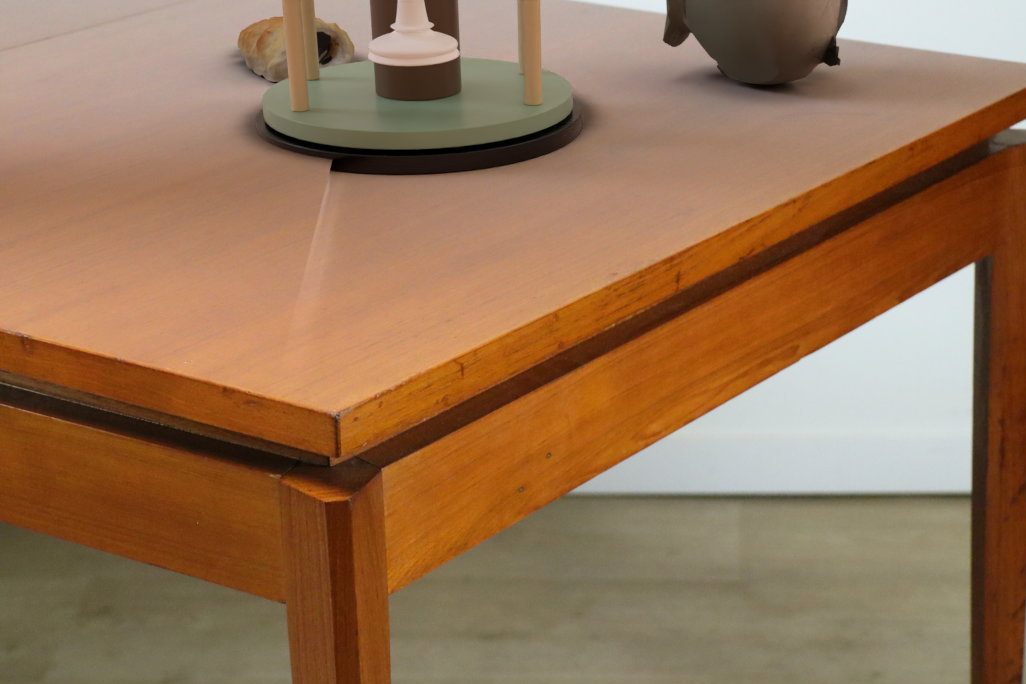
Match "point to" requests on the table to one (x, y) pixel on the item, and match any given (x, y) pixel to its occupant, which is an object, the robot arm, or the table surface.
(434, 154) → the rack base
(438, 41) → the chess piece
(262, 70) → the pastry
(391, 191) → the table surface
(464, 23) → the table surface
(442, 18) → the rack
